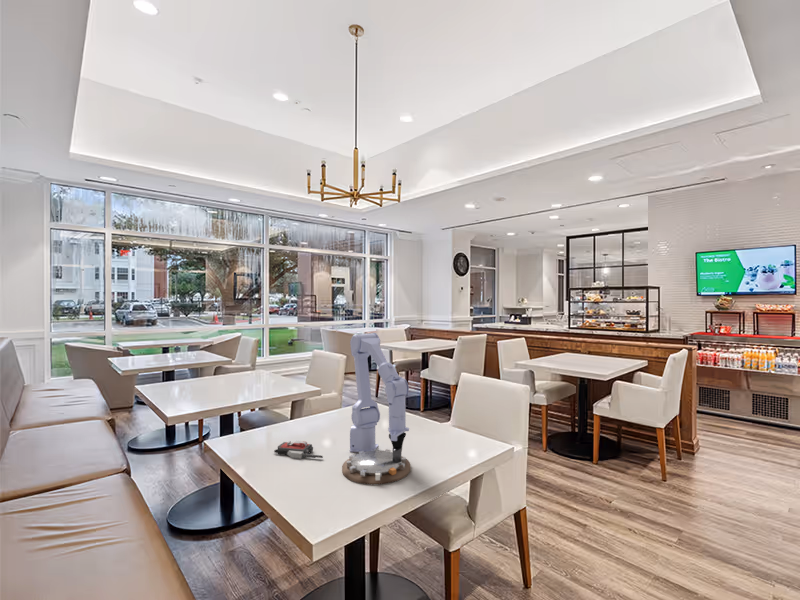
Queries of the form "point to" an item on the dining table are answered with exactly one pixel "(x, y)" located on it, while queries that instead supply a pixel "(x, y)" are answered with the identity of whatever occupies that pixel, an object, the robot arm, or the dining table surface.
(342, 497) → the dining table surface
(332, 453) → the dining table surface
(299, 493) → the dining table surface
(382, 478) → the sprocket base
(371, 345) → the robot arm
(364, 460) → the sprocket
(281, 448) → the walkie-talkie
